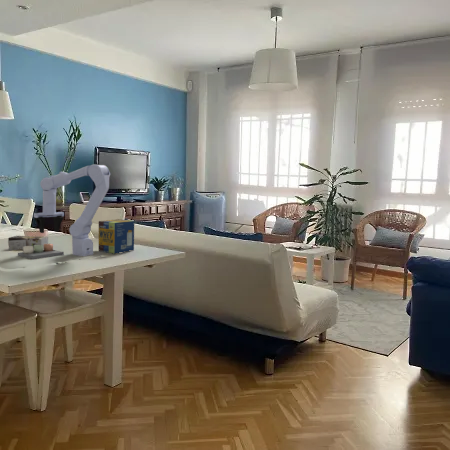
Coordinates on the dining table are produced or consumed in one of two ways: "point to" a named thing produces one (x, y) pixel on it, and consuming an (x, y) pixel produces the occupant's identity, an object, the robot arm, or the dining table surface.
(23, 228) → the dining table surface
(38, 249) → the sage button
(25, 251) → the cream button
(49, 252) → the console
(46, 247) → the terracotta button
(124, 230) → the protein box
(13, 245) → the coffee box
